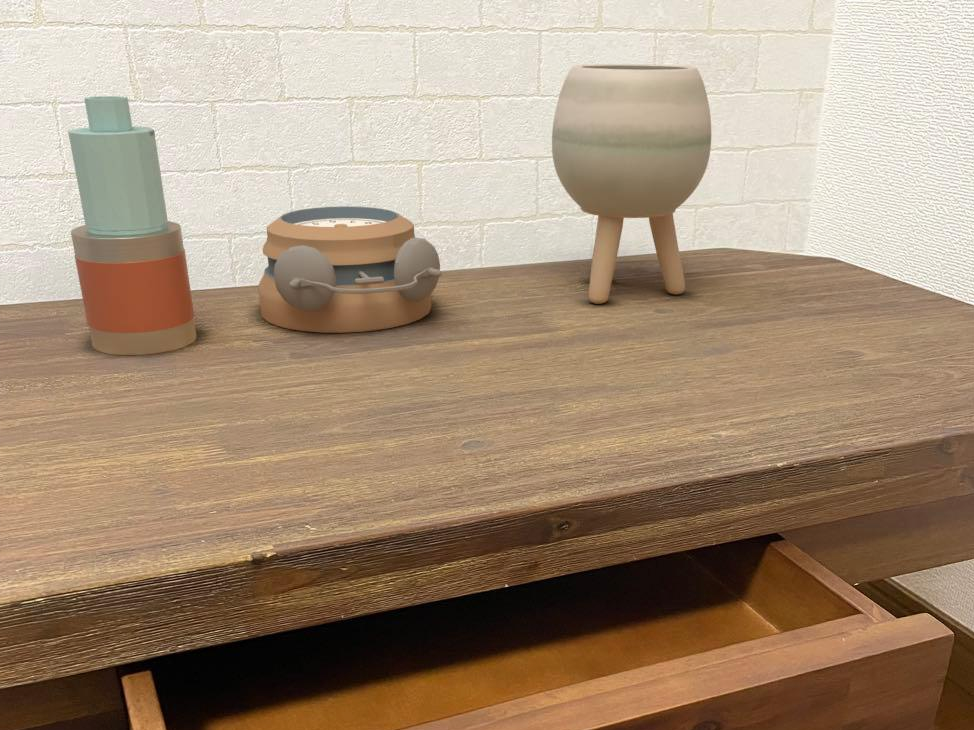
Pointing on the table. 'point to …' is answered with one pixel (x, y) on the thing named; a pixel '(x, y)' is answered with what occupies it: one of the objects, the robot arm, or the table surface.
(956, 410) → the table surface
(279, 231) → the alarm clock
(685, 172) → the planter
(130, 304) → the tin can
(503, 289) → the table surface
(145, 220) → the bottle
